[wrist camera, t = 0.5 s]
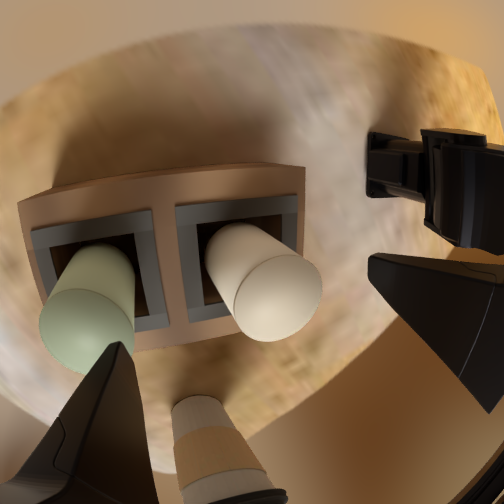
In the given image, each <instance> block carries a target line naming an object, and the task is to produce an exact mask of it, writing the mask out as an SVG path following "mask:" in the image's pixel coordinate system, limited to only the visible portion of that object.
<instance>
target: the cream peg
mask: <svg viewBox="0 0 504 504" xmlns="http://www.w3.org/2000/svg"><path fill="white" fill-rule="evenodd" d="M204 262H205V267H206V270H207V272H208V274H209V276H210V277H211V279H212V281H213V283H214V284H215V286H216V288H217V290H218V292H219V293H220V295H221V297H222V298H223V300H224V302H225V304H226V305H227V307H228V309H229V311H230V312H231V314H232V316H233V317H234V319H235V321H236V322H237V324H238V326H239V327H240V329H241V330H242V332H244V333H245V334H246V335H247V336H249V337H250V338H252V339H254V340H258V341H264V342H271V341H277V340H281V339H284V338H286V337H289V336H291V335H292V334H294V333H296V332H297V331H299V330H300V329H301V328H302V327H303V326H305V324H306V323H307V322H308V321H309V320H310V319H311V318H312V316H313V315H314V313H315V311H316V310H317V308H318V305H319V303H320V299H321V295H322V281H321V277H320V274H319V272H318V270H317V269H316V267H315V266H314V265H313V264H312V263H310V262H309V261H308V260H306V259H305V258H303V257H302V256H300V255H299V254H297V253H296V252H294V251H293V250H291V249H290V248H288V247H287V246H285V245H284V244H282V243H281V242H279V241H278V240H276V239H275V238H273V237H272V236H270V235H269V234H267V233H266V232H264V231H263V230H261V229H260V228H258V227H257V226H255V225H253V224H250V223H246V222H236V223H231V224H228V225H226V226H224V227H222V228H221V229H219V230H218V231H217V232H216V233H215V234H214V235H213V236H212V237H211V239H210V240H209V242H208V244H207V246H206V249H205V255H204Z"/></svg>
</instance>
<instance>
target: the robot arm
mask: <svg viewBox="0 0 504 504" xmlns="http://www.w3.org/2000/svg"><path fill="white" fill-rule="evenodd" d="M420 132H421V135H422V142H421V141H410V140H409V139H406V138H402V137H397V136H392V135H387V134H382V133H377V132H370V133H369V134H368V169H367V191H366V194H367V196H368V197H370V198H390V197H403V198H407V199H410V200H414V201H418V202H421V203H425V218H424V225H425V226H426V227H428V228H429V229H431V230H432V231H434V232H435V233H437V234H438V235H439V236H441V237H442V238H444V239H445V240H447V241H448V242H449V243H451V244H452V245H454V246H456V247H462V248H478V249H481V250H484V251H487V252H489V253H492V254H494V255H497V256H498V255H503V254H504V146H503V145H497V144H492V143H487V140H486V135H484V134H480V133H476V132H471V131H467V130H460V129H448V128H435V129H420ZM371 191H372V193H371ZM368 279H369V281H370V282H371V284H372V285H373V286H374V287H375V288H376V290H377V291H378V292H379V293H380V294H381V295H382V297H383V298H384V299H385V300H386V302H387V303H388V304H389V305H390V306H391V307H392V308H393V310H394V311H395V312H396V313H397V314H398V315H399V316H400V317H401V318H402V319H403V320H404V321H405V322H406V323H407V324H408V325H409V326H410V327H411V328H412V329H413V330H414V331H415V332H416V333H417V334H418V335H419V336H420V337H421V338H422V339H423V340H424V341H425V342H426V343H427V345H428V346H429V347H430V348H431V349H432V350H433V351H434V352H435V353H436V354H437V355H438V356H439V358H440V359H441V360H442V361H443V362H444V363H445V364H446V365H447V366H448V367H449V369H450V370H451V371H452V372H453V373H454V374H455V375H456V376H457V378H459V380H460V381H461V382H462V384H463V385H464V386H465V387H466V388H467V389H468V391H469V392H470V393H471V394H472V395H473V396H474V398H475V399H476V400H477V401H478V402H479V404H480V405H481V406H482V407H483V409H484V410H485V411H486V412H487V413H488V414H490V413H491V412H492V410H493V409H494V408H495V406H496V405H497V404H498V402H499V401H500V400H501V398H502V397H503V395H504V265H497V264H482V263H470V262H462V261H460V262H459V261H453V260H444V259H434V258H425V257H416V256H406V255H397V254H387V253H375V254H373V255H371V256H369V258H368ZM503 489H504V441H503V443H502V444H501V445H500V446H499V448H498V449H497V450H496V452H495V453H494V454H493V456H492V457H491V458H490V459H489V460H488V462H487V463H486V464H485V465H484V466H483V468H482V469H481V470H480V471H479V472H478V473H477V474H476V476H475V477H474V478H473V479H472V480H471V481H470V482H469V483H468V484H467V485H466V486H465V487H464V489H462V490H461V492H459V493H458V494H457V495H456V496H455V497H454V498H453V499H452V500H451V501H450V502H449V503H448V504H492V502H493V501H494V500H495V499H496V498H497V497H498V495H499V494H500V493H501V492H502V490H503ZM0 504H159V501H158V497H157V492H156V488H155V483H154V478H153V473H152V468H151V463H150V457H149V451H148V444H147V437H146V430H145V422H144V414H143V406H142V400H141V396H140V391H139V386H138V381H137V376H136V370H135V365H134V362H133V360H132V358H131V356H130V354H129V353H128V351H127V349H126V347H125V345H124V344H123V343H122V342H121V341H117V342H113V343H110V344H109V345H108V346H107V347H106V349H105V350H104V351H103V353H102V354H101V355H100V357H99V358H98V360H97V361H96V362H95V364H94V365H93V366H92V368H91V369H90V370H89V372H88V373H87V375H86V376H85V377H84V379H83V380H82V382H81V383H80V384H79V386H78V387H77V389H76V390H75V392H74V393H73V394H72V396H71V397H70V399H69V400H68V402H67V403H66V405H65V406H64V408H63V409H62V411H61V412H60V414H59V417H57V418H56V419H55V421H54V423H53V424H52V426H51V427H50V429H49V430H48V432H47V433H46V435H45V436H44V437H43V439H42V440H41V442H40V443H39V444H38V445H37V447H36V448H35V450H34V451H33V452H32V453H31V455H30V456H29V458H28V459H27V460H26V462H25V463H24V464H23V466H22V467H21V469H20V470H19V471H18V472H17V474H16V475H15V476H14V477H13V478H12V479H10V480H9V481H7V482H5V483H2V484H0ZM495 504H504V494H503V495H502V496H501V497H500V498H499V500H498V501H497V502H496V503H495Z"/></svg>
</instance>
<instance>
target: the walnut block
mask: <svg viewBox="0 0 504 504" xmlns="http://www.w3.org/2000/svg"><path fill="white" fill-rule="evenodd" d="M17 205H18V211H19V217H20V223H21V228H22V233H23V237H24V242H25V246H26V250H27V254H28V258H29V262H30V266H31V269H32V273H33V276H34V279H35V282H36V286H37V289H38V292H39V295H40V298H41V300H42V303H43V306H44V305H45V303H46V301H47V299H48V298H49V296H50V294H51V292H52V290H53V289H54V287H55V285H56V283H57V282H58V280H59V278H60V277H61V275H62V273H63V272H64V270H65V268H66V267H67V265H68V263H69V262H70V260H71V259H72V257H73V256H74V254H75V253H76V252H77V251H78V250H79V249H80V248H81V246H80V242H81V241H86V240H92V239H98V238H104V237H110V236H117V235H123V234H129V233H134V237H135V244H136V250H137V256H138V261H139V267H140V272H141V273H138V274H135V298H134V339H135V343H134V350H133V353H134V352H140V351H147V350H153V349H159V348H165V347H170V346H176V345H181V344H187V343H192V342H197V341H202V340H207V339H211V338H216V337H221V336H225V335H230V334H234V333H238V332H242V330H241V329H240V327H239V326H238V324H237V322H236V321H235V319H234V317H233V316H232V314H231V312H230V311H229V309H228V307H227V305H226V304H225V302H224V300H223V298H222V297H221V295H220V293H219V292H218V290H217V288H216V286H215V284H214V283H213V281H212V279H211V277H210V276H209V274H208V272H207V270H206V267H205V263H201V264H200V261H199V250H198V239H197V227H196V224H200V223H208V222H216V221H224V220H232V219H241V218H245V222H246V223H250V224H253V225H255V226H257V227H258V228H260V229H261V230H263V231H264V232H266V233H267V234H269V235H270V236H272V237H273V238H275V239H276V240H278V241H279V242H281V243H282V244H284V245H285V246H287V247H288V248H290V249H291V250H293V251H294V252H296V253H297V254H299V255H300V256H302V257H303V243H304V216H305V167H301V166H292V165H283V164H274V163H238V164H220V165H206V166H193V167H182V168H172V169H163V170H155V171H147V172H139V173H132V174H125V175H119V176H112V177H106V178H100V179H95V180H89V181H84V182H79V183H74V184H69V185H64V186H60V187H55V188H51V189H49V190H46V191H43V192H41V193H39V194H36V195H34V196H31V197H29V198H27V199H24V200H22V201H20V202H17Z"/></svg>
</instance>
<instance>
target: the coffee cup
mask: <svg viewBox="0 0 504 504" xmlns="http://www.w3.org/2000/svg"><path fill="white" fill-rule="evenodd" d="M171 417H172V428H173V437H174V447H173V449H174V457H175V464H176V471H177V477H178V484H179V490H180V494H181V495H182V496H183V502H184V504H286V503H287V501H288V497H287V496H286V491H285V490H284V489H276V488H275V487H274V485H273V484H272V482H271V481H270V480H269V478H268V477H267V475H266V471H265V470H264V468H263V467H262V465H261V464H260V463H259V461H258V460H257V458H256V456H255V455H254V453H253V452H252V450H251V449H250V447H249V446H248V444H247V443H246V441H245V439H244V438H243V436H242V435H241V433H240V432H239V431H237V429H236V428H235V426H234V424H233V423H232V421H231V419H230V418H229V416H228V414H227V413H226V411H225V409H224V408H223V406H222V404H221V403H220V402H219V401H218V400H217V399H215V398H213V397H209V396H204V395H197V396H191V397H188V398H185V399H183V400H182V401H180V402H179V403H177V404H176V405H175V406H174V408H173V409H172V413H171Z"/></svg>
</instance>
